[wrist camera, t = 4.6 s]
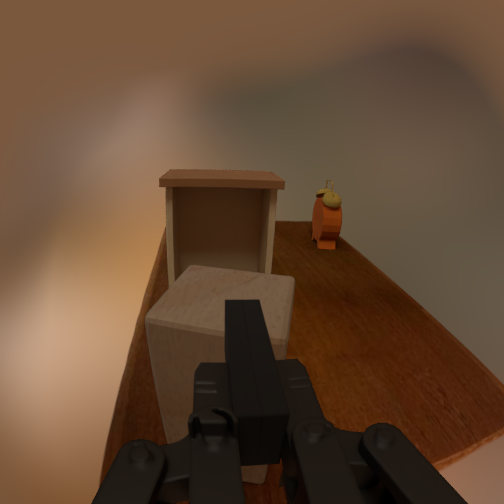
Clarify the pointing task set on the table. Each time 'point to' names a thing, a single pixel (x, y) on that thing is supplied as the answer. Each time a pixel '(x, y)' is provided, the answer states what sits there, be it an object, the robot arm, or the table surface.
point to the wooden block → (208, 336)
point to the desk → (220, 219)
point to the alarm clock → (326, 218)
